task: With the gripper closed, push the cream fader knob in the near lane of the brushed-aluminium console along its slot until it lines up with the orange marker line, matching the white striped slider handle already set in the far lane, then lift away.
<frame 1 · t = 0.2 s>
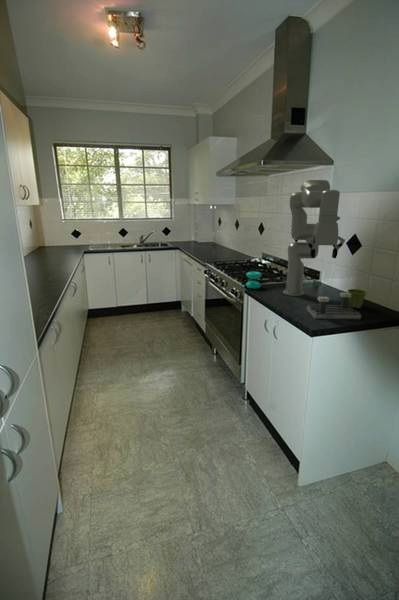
hand: (323, 257, 145), 30 cm above the countertop, tool pointing down, fingers open, 9 cm apart
teal spool: (253, 287, 212), on the countertop
fader knob: (322, 305, 155), point 6 cm above the countertop, slide at 0.0 cm
console: (332, 314, 160), on the countertop
plant pot: (354, 306, 172), on the countertop
white striped slider handle: (344, 300, 162), point 6 cm above the countertop, slide at 14.0 cm
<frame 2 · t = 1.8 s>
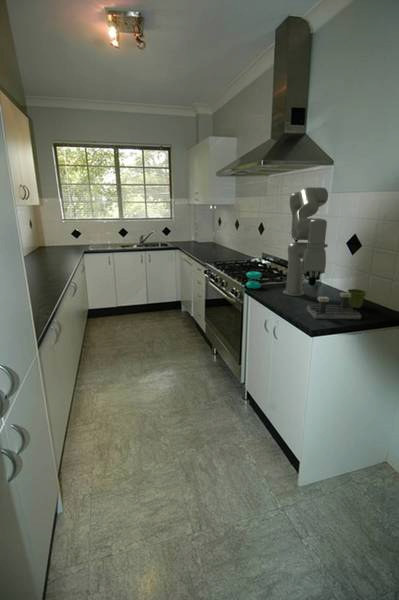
hand: (311, 285, 151), 16 cm above the countertop, tool pointing down, fingers closed
nothing on the countertop moved.
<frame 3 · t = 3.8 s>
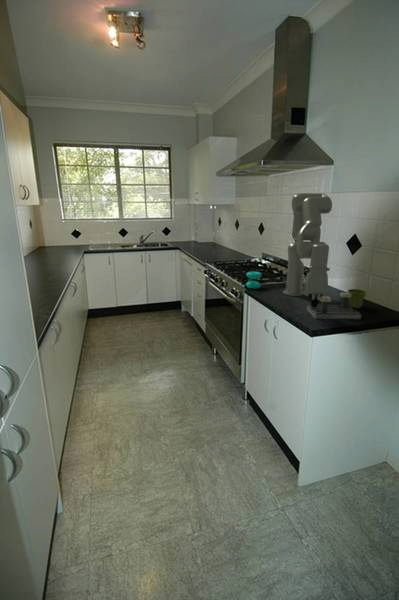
hand: (313, 306, 155), 5 cm above the countertop, tool pointing down, fingers closed
fader knob: (324, 305, 155), point 6 cm above the countertop, slide at 0.9 cm, touching gripper
everything else where it was.
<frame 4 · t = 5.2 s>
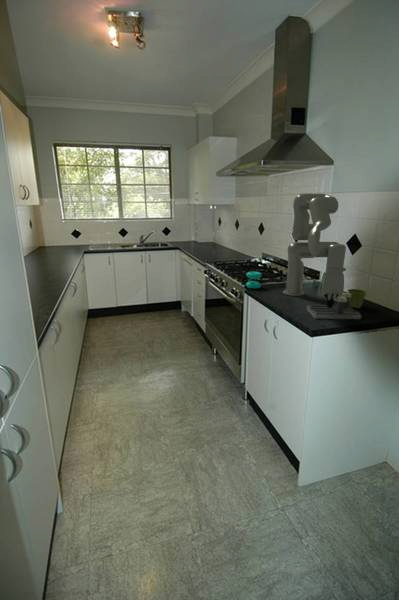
hand: (329, 307, 155), 5 cm above the countertop, tool pointing down, fingers closed
fader knob: (340, 305, 154), point 6 cm above the countertop, slide at 8.5 cm, touching gripper
everything else where it was.
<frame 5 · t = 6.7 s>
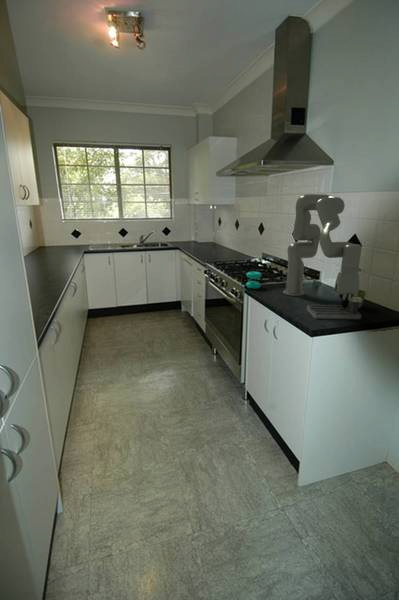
hand: (344, 307, 155), 5 cm above the countertop, tool pointing down, fingers closed
fader knob: (354, 305, 154), point 6 cm above the countertop, slide at 15.6 cm, touching console, gripper
everything else where it was.
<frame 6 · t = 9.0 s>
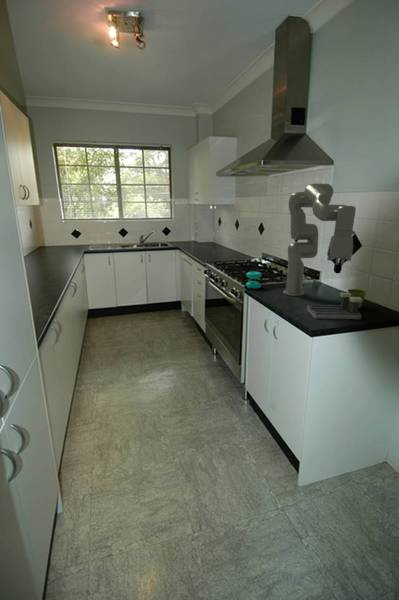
hand: (337, 272, 150), 22 cm above the countertop, tool pointing down, fingers closed
fader knob: (354, 305, 154), point 6 cm above the countertop, slide at 15.6 cm, touching console
everything else where it was.
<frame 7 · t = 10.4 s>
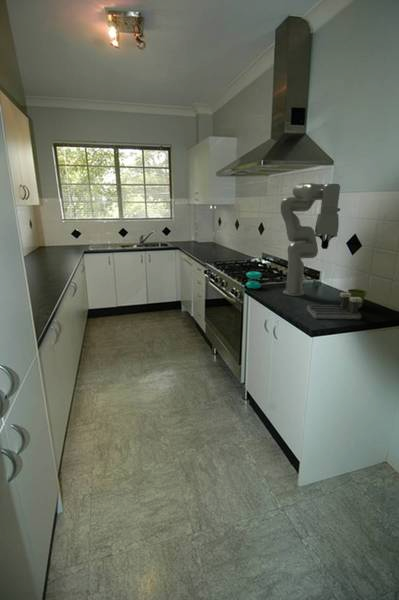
hand: (324, 248, 158), 32 cm above the countertop, tool pointing down, fingers closed
nothing on the countertop moved.
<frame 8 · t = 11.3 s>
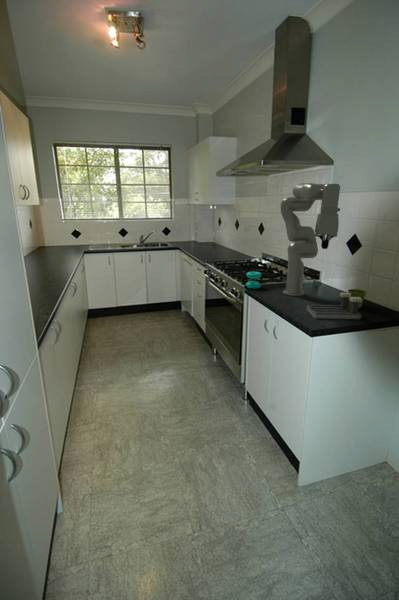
hand: (324, 248, 158), 32 cm above the countertop, tool pointing down, fingers closed
nothing on the countertop moved.
at the end: fader knob slide at 15.6 cm; white striped slider handle slide at 14.0 cm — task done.
